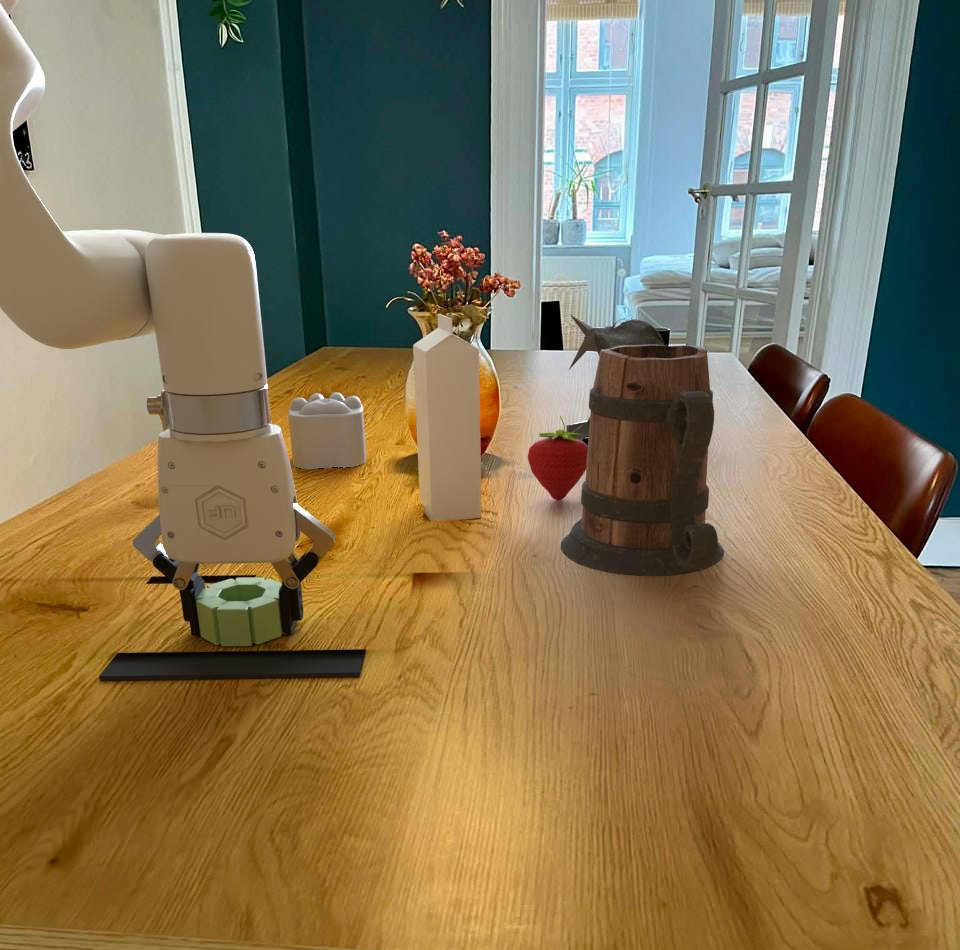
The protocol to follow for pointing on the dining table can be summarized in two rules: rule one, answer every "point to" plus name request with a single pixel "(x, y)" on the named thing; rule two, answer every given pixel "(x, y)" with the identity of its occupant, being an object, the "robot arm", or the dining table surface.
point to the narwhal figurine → (609, 338)
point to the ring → (240, 612)
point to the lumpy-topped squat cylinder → (327, 432)
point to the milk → (448, 424)
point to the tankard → (647, 464)
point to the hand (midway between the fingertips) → (245, 626)
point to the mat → (234, 665)
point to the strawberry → (558, 461)
